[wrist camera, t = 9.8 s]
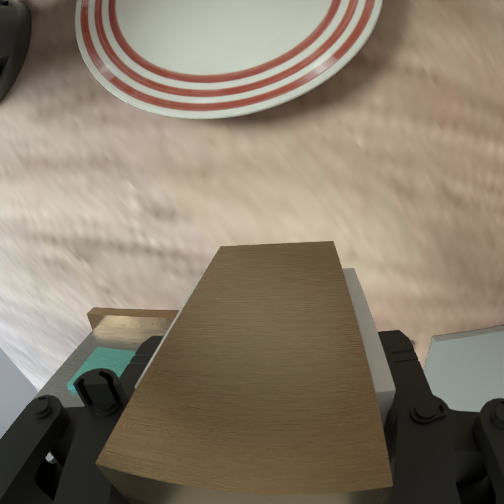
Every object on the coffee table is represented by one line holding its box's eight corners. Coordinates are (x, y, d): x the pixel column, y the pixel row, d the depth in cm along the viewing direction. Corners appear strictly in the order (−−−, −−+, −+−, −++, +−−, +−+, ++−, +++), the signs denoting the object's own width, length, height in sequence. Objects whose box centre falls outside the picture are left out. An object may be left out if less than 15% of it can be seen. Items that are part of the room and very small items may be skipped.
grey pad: (405, 428, 35) (406, 433, 34) (432, 336, 30) (435, 341, 29) (496, 407, 33) (498, 411, 32) (533, 319, 27) (537, 323, 26)
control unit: (120, 378, 38) (67, 461, 24) (93, 307, 34) (16, 387, 20) (254, 389, 35) (231, 501, 21) (243, 310, 31) (206, 431, 17)
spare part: (234, 337, 15) (171, 543, 5) (220, 246, 13) (95, 463, 4) (332, 335, 14) (348, 554, 5) (333, 240, 12) (392, 486, 3)
